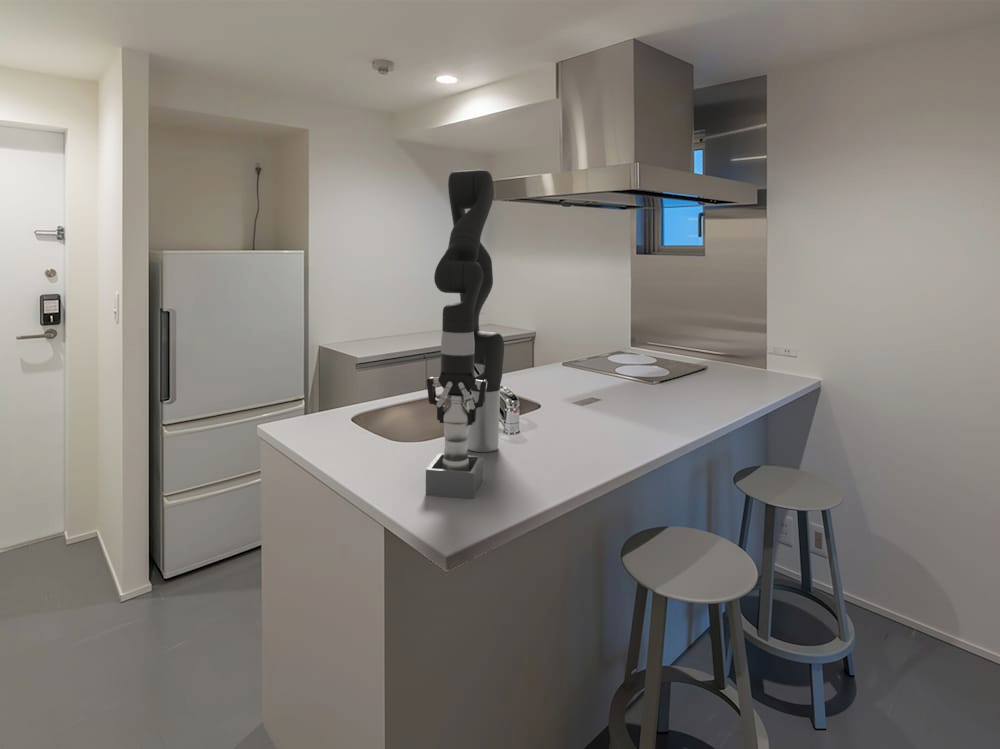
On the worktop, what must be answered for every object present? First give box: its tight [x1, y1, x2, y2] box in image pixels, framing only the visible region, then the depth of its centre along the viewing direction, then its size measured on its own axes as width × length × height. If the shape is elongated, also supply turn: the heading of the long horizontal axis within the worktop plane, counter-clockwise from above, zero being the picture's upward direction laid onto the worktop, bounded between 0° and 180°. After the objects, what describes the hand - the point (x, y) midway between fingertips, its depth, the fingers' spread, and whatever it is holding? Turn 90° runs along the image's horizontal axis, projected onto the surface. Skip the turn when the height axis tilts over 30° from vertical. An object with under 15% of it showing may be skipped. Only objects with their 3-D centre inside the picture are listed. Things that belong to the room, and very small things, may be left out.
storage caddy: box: [425, 452, 484, 500], centre depth 138 cm, size 12×11×6 cm
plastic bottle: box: [442, 395, 469, 471], centre depth 137 cm, size 6×7×20 cm
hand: (456, 422), depth 136 cm, fingers closed on plastic bottle, 6 cm apart
